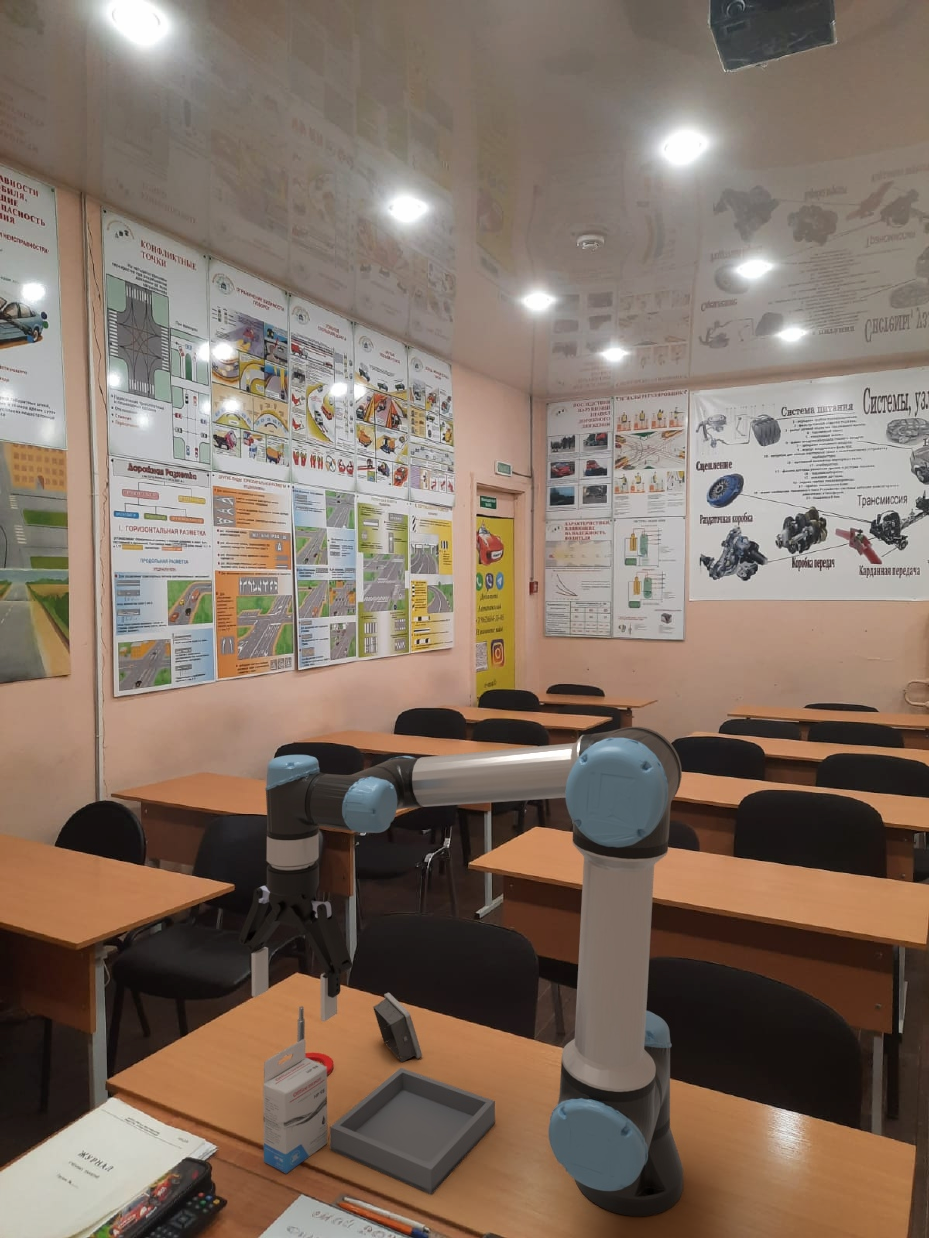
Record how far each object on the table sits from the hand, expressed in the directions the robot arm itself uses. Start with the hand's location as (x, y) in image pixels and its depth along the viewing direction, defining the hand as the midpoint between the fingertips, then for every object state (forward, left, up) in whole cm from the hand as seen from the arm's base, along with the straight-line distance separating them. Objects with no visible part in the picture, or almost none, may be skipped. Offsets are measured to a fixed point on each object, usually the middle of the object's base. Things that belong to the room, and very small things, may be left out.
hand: (293, 1004), depth 121 cm
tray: (-13, -12, -22) cm, 28 cm away
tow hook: (+13, -17, -22) cm, 31 cm away
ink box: (0, 0, -22) cm, 22 cm away
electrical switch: (+3, -30, -22) cm, 38 cm away
